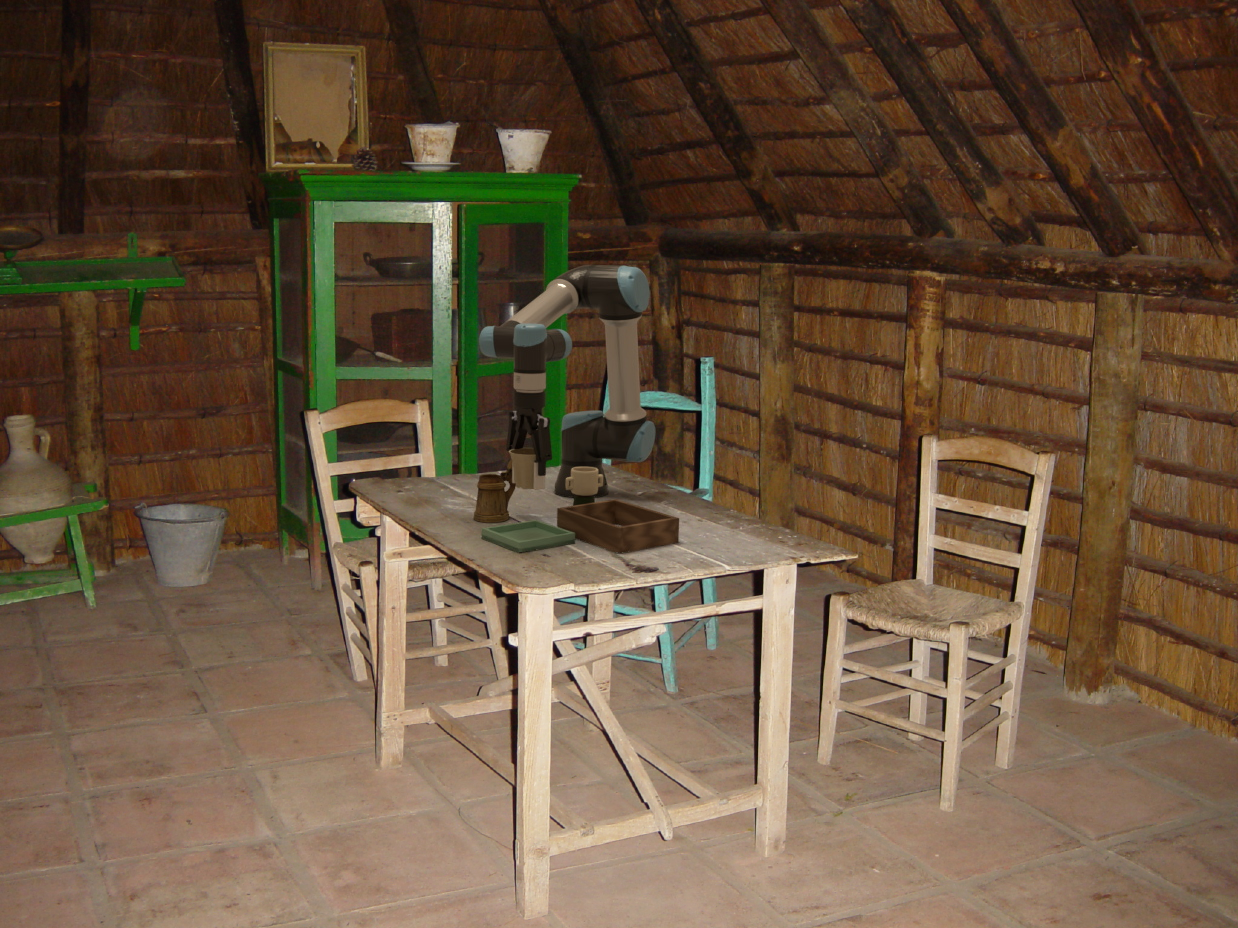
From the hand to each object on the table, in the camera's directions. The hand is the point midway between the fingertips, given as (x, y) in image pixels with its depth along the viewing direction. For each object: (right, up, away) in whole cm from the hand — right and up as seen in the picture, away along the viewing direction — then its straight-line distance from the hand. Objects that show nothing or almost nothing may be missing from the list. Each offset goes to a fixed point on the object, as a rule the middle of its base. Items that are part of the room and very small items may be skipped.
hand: (528, 485), depth 286 cm
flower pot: (0, -1, 0) cm, 1 cm away
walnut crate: (+21, -13, +8) cm, 26 cm away
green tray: (0, -13, +3) cm, 13 cm away
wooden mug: (-9, -9, +25) cm, 28 cm away
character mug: (+12, -9, +27) cm, 31 cm away
